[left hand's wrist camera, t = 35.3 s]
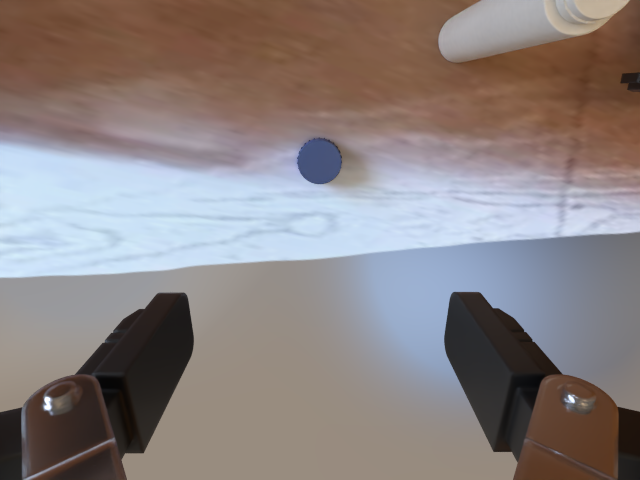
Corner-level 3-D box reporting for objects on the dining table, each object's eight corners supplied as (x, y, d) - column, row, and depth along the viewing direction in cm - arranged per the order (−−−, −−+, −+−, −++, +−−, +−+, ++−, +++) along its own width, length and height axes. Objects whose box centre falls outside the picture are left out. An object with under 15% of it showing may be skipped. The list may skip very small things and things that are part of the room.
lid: (330, 130, 38) (331, 131, 37) (348, 170, 40) (349, 173, 38) (290, 148, 39) (289, 151, 38) (309, 188, 41) (308, 191, 39)
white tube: (478, 7, 34) (655, -89, 16) (484, 55, 36) (652, 15, 18) (434, 22, 35) (558, -56, 17) (442, 68, 36) (563, 43, 18)
